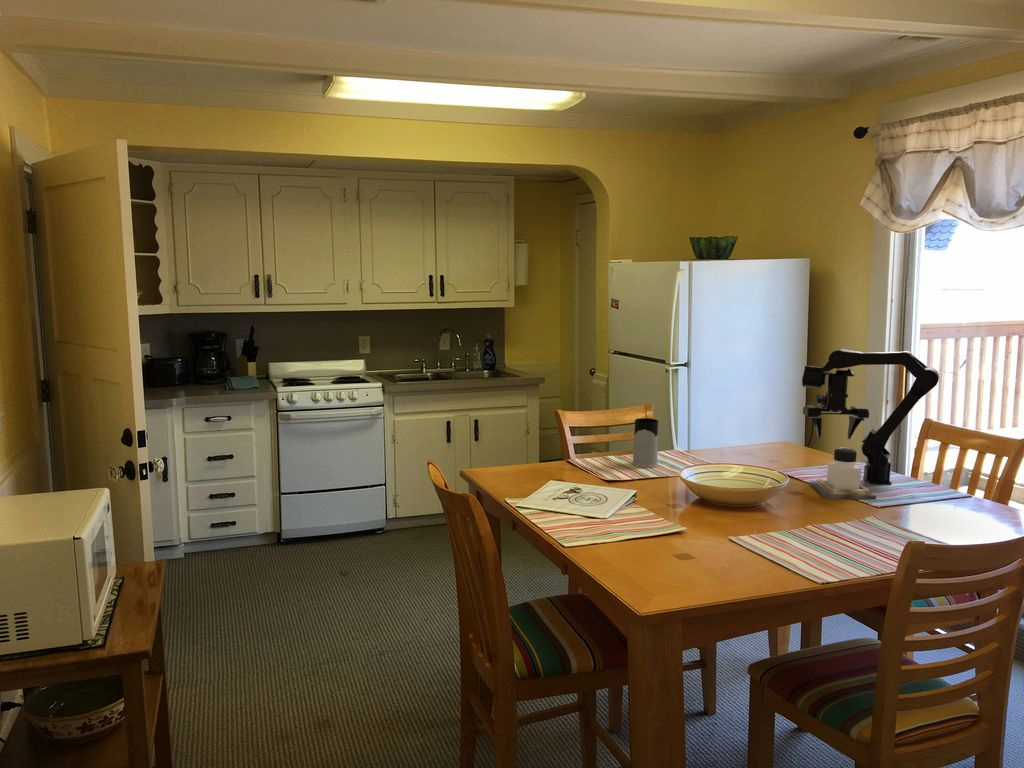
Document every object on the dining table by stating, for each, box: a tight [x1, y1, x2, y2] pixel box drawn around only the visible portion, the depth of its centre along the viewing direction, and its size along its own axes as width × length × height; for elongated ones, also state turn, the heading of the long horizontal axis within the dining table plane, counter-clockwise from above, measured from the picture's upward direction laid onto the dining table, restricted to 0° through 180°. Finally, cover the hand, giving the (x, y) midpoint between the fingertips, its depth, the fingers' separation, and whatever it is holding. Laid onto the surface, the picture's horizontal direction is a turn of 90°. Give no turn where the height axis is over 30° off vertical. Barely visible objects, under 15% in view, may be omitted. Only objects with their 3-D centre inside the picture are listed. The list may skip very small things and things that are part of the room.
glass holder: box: [631, 417, 659, 469], centre depth 273 cm, size 9×14×15 cm, turn 163°
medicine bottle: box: [826, 447, 862, 489], centre depth 241 cm, size 7×7×12 cm
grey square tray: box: [810, 478, 877, 500], centre depth 242 cm, size 14×14×2 cm
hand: (833, 438), depth 258 cm, fingers open, 9 cm apart
